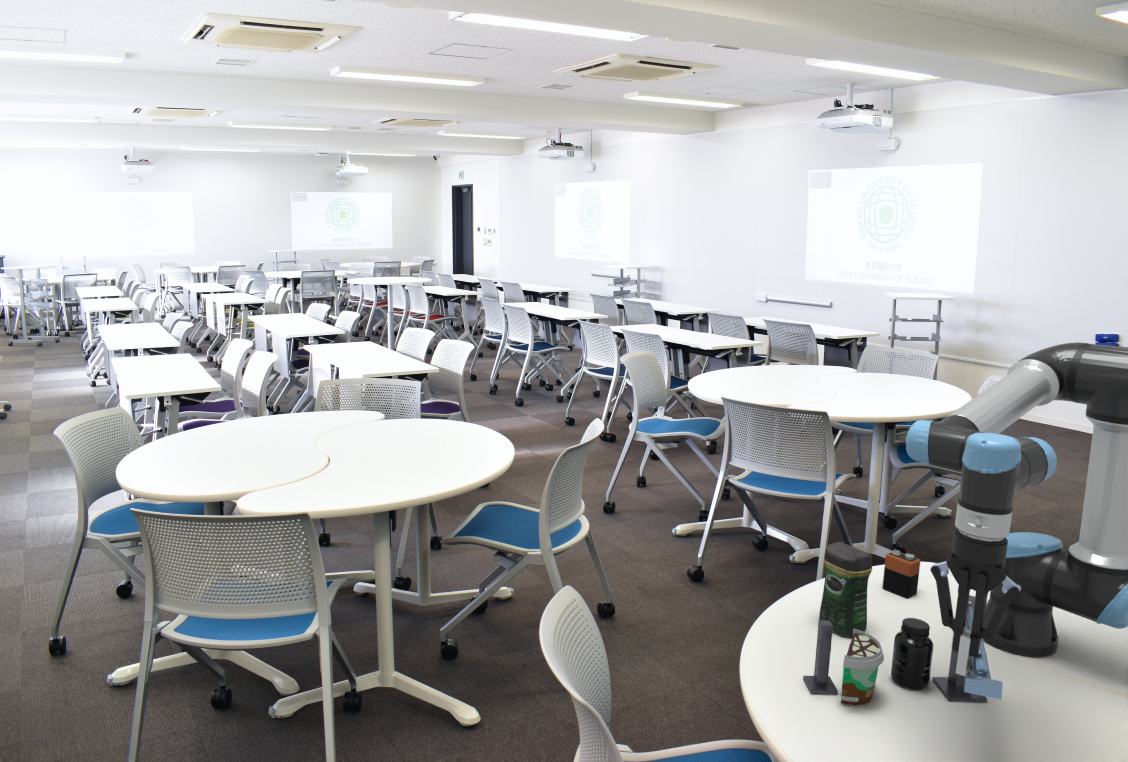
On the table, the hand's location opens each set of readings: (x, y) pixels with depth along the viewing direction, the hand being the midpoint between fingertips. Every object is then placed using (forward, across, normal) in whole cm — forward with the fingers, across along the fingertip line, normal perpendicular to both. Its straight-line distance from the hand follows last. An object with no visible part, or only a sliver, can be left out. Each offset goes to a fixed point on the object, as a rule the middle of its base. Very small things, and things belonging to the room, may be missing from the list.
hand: (962, 671), depth 127 cm
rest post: (+15, -24, +5) cm, 29 cm away
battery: (+16, -25, +59) cm, 66 cm away
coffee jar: (+16, -29, +31) cm, 46 cm away
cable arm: (0, 0, +9) cm, 9 cm away
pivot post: (+15, -4, +21) cm, 26 cm away
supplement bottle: (+15, -12, +18) cm, 27 cm away
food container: (+15, -17, +8) cm, 24 cm away
